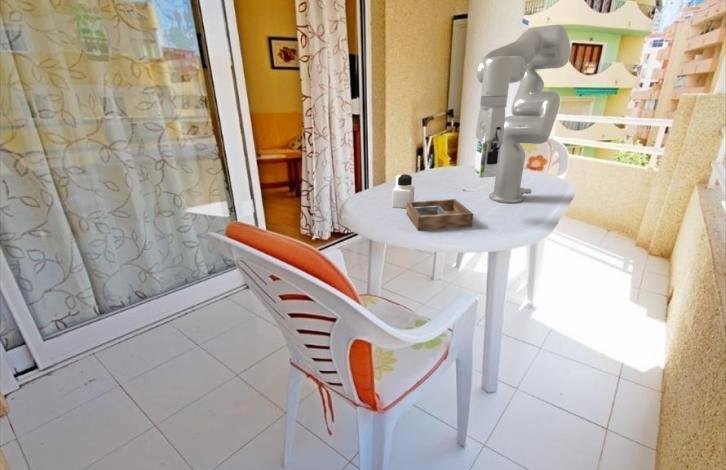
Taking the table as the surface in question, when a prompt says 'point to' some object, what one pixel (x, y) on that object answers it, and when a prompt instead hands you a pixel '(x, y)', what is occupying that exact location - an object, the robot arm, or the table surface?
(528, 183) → the table surface
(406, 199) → the medicine bottle
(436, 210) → the walled box
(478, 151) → the syrup box
